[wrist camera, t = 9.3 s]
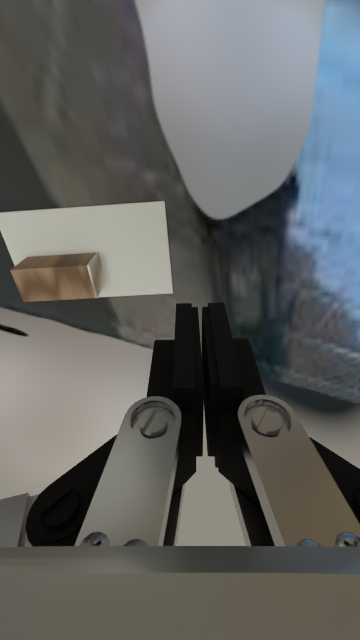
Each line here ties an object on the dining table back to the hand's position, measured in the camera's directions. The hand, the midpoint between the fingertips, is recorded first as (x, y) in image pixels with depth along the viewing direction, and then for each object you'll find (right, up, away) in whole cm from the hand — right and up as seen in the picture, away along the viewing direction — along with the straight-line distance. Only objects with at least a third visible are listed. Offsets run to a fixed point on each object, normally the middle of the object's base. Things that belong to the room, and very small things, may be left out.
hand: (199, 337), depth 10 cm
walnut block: (-13, +7, +31) cm, 35 cm away
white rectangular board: (-14, +11, +33) cm, 37 cm away
